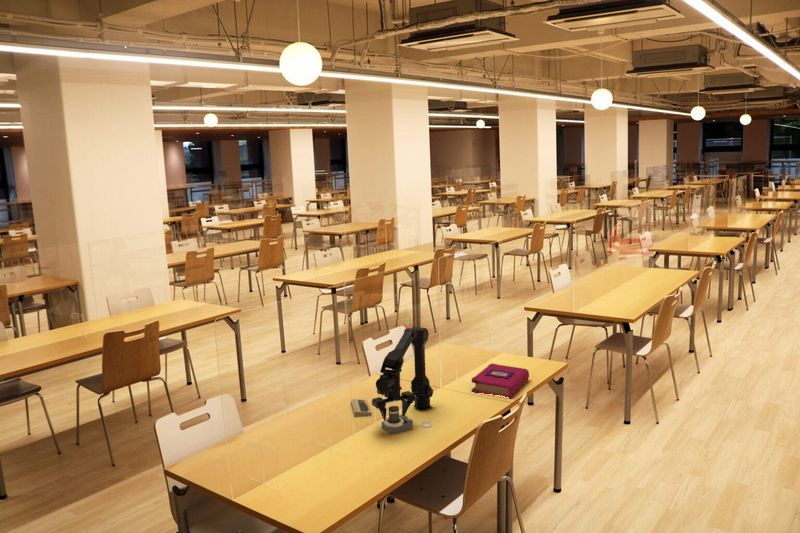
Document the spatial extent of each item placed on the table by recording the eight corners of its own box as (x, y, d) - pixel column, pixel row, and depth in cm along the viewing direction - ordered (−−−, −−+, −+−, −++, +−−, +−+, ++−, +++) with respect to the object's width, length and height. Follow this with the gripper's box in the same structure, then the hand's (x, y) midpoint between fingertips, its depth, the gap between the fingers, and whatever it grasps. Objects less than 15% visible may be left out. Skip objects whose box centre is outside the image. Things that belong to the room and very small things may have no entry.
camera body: (403, 423, 303) (403, 412, 302) (412, 429, 296) (412, 419, 295) (381, 428, 298) (381, 417, 297) (390, 435, 291) (390, 424, 290)
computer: (372, 416, 312) (371, 410, 311) (354, 418, 310) (354, 411, 310) (367, 404, 327) (367, 397, 326) (350, 405, 325) (350, 398, 325)
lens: (396, 420, 299) (395, 404, 298) (401, 423, 295) (400, 408, 294) (386, 422, 297) (386, 406, 296) (391, 426, 293) (391, 410, 292)
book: (528, 382, 354) (529, 368, 352) (510, 400, 330) (511, 385, 328) (490, 375, 364) (490, 362, 362) (470, 393, 339) (470, 378, 338)
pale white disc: (428, 422, 304) (428, 421, 304) (434, 426, 300) (434, 425, 300) (418, 425, 302) (418, 423, 302) (424, 429, 298) (424, 427, 297)
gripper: (403, 374, 304) (403, 407, 307) (365, 382, 295) (366, 416, 298) (415, 382, 294) (416, 416, 297) (377, 390, 286) (378, 425, 288)
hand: (393, 418), depth 296 cm, fingers open, 9 cm apart
